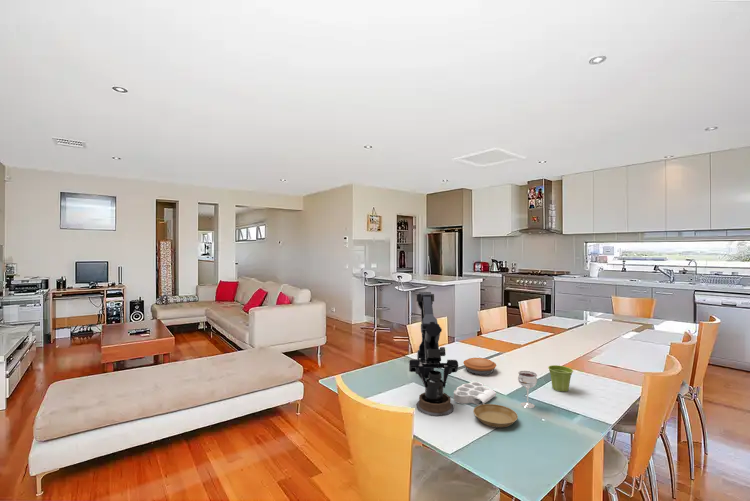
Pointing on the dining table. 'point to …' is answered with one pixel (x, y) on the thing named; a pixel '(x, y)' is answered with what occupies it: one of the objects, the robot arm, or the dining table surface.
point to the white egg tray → (473, 393)
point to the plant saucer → (495, 415)
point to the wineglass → (527, 384)
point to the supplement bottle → (434, 388)
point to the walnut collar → (435, 406)
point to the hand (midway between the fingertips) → (435, 387)
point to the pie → (479, 365)
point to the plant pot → (560, 377)
